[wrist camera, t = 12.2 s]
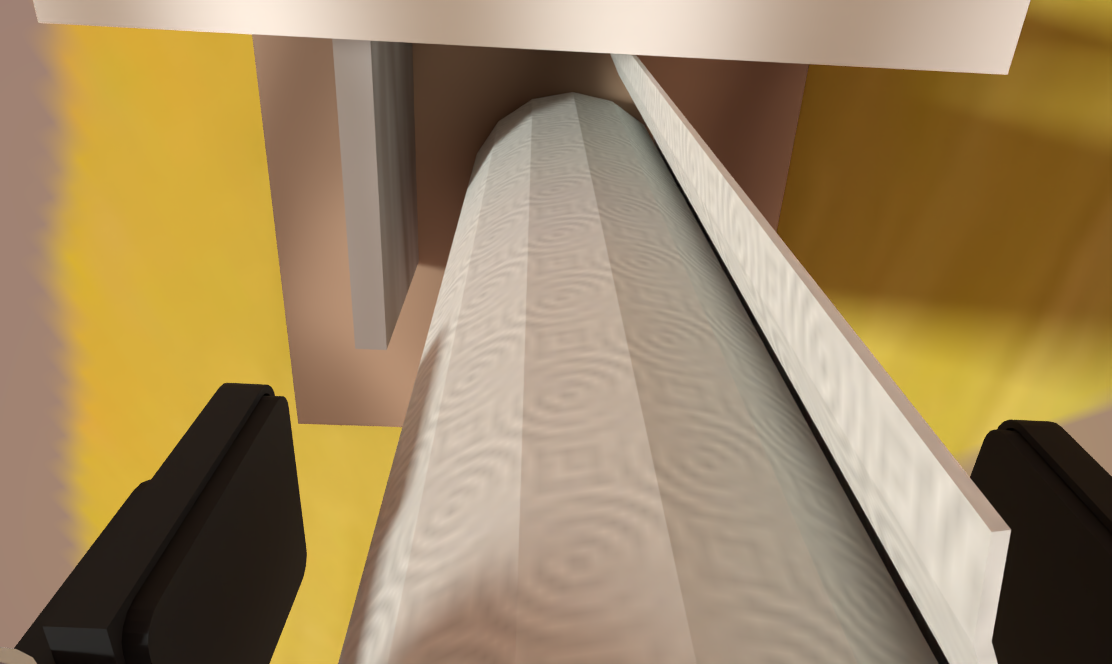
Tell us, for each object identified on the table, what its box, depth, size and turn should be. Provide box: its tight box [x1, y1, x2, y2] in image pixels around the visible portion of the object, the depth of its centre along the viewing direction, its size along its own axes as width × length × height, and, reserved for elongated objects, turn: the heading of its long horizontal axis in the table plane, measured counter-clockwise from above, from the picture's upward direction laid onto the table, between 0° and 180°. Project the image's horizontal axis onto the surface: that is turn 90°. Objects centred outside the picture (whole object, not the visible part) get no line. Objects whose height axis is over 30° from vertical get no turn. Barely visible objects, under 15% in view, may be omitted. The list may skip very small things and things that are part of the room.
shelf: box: [33, 0, 1030, 427], centre depth 21 cm, size 16×16×12 cm
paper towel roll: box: [338, 53, 1011, 664], centre depth 15 cm, size 7×6×21 cm
